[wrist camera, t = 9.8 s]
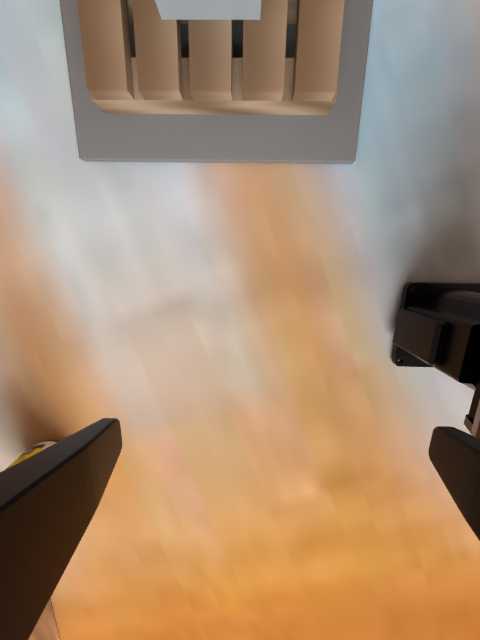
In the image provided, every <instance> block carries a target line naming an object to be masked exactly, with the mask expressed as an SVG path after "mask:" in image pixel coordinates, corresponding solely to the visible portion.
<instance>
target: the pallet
mask: <svg viewBox="0 0 480 640" xmlns="http://www.w3.org/2000/svg"><path fill="white" fill-rule="evenodd" d="M344 2H345V0H261V14H260V20H162V19H161V16H160V13H159V11H158V8H157V5H156V2H155V0H77V6H78V15H79V24H80V32H81V41H82V50H83V59H84V68H85V77H86V86H87V91H88V92H89V93H90V94H91V100H92V101H93V102H94V103H95V104H96V105H97V106H98V107H99V108H100V109H101V110H102V111H103V112H104V113H105V114H219V115H328V114H329V112H330V111H331V109H332V107H333V106H334V104H335V102H336V98H337V87H338V76H339V65H340V58H339V56H340V45H341V34H342V23H343V12H344ZM129 24H134V35H135V49H136V57H131V48H130V34H129ZM180 24H188V31H189V58H182V56H181V27H180ZM232 24H243V58H232ZM287 24H296V35H295V53H294V58H285V50H286V29H287Z"/></svg>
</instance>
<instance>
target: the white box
mask: <svg viewBox="0 0 480 640" xmlns="http://www.w3.org/2000/svg"><path fill="white" fill-rule="evenodd" d="M155 2H156V5H157V8H158V11H159V13H160V16H161V19H162V20H260V14H261V0H155Z"/></svg>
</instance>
